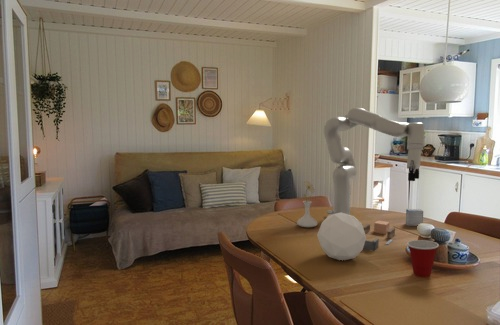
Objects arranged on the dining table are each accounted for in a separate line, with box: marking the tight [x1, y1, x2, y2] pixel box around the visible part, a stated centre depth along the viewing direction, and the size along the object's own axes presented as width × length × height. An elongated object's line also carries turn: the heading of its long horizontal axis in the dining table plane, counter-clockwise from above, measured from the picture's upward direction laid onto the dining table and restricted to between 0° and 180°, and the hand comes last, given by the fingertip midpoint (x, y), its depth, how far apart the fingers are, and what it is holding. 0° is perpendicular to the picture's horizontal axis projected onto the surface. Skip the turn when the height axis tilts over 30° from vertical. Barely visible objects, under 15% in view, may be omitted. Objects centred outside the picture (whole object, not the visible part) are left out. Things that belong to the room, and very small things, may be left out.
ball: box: [316, 212, 367, 262], centre depth 155 cm, size 19×20×20 cm
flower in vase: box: [296, 180, 318, 228], centre depth 204 cm, size 13×11×25 cm
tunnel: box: [363, 223, 396, 240], centre depth 188 cm, size 14×8×4 cm, turn 55°
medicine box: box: [405, 208, 424, 227], centre depth 205 cm, size 8×4×9 cm, turn 84°
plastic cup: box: [406, 239, 440, 278], centre depth 139 cm, size 11×11×12 cm
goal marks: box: [385, 238, 394, 246], centre depth 181 cm, size 17×8×1 cm, turn 55°
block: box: [373, 220, 390, 235], centre depth 193 cm, size 6×6×5 cm
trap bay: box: [363, 238, 380, 252], centre depth 170 cm, size 12×6×4 cm, turn 55°
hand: (413, 179), depth 193 cm, fingers open, 9 cm apart
